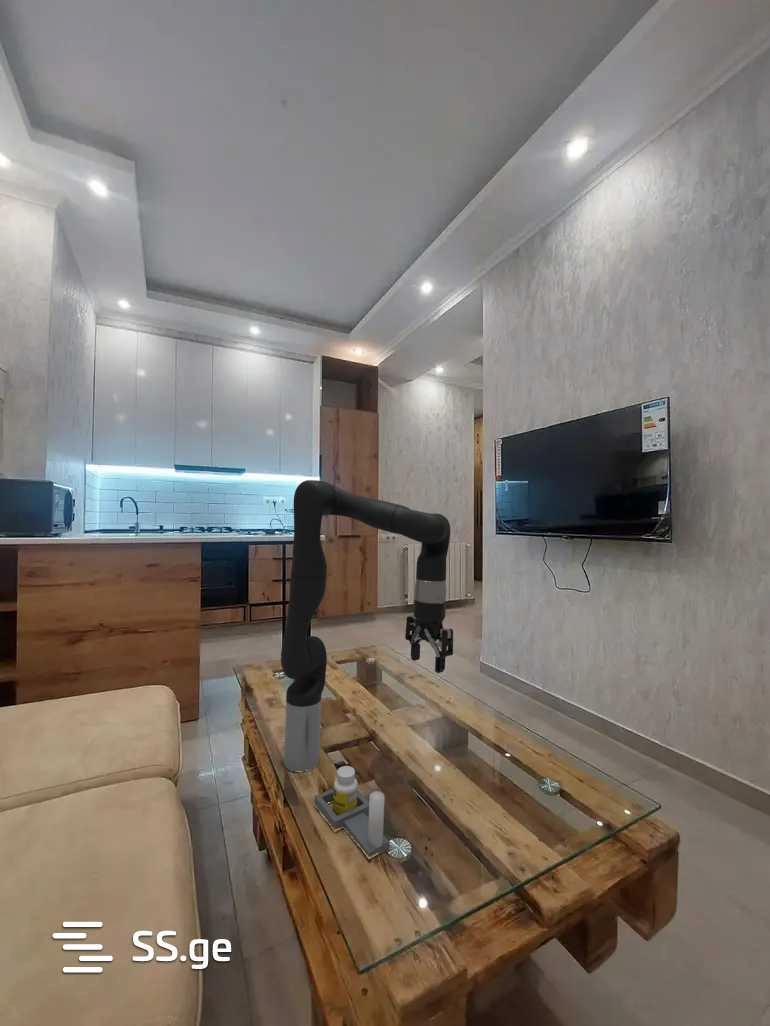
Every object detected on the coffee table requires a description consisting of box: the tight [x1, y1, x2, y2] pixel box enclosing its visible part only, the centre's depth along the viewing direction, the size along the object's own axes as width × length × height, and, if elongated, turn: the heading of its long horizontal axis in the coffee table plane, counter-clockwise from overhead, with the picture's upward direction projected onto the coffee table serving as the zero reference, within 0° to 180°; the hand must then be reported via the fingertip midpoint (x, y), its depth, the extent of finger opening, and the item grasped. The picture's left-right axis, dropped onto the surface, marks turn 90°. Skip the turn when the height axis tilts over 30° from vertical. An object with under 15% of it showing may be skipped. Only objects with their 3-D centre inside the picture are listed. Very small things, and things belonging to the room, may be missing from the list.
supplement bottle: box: [332, 765, 359, 816], centre depth 97 cm, size 5×5×10 cm
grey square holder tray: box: [313, 787, 391, 857], centre depth 93 cm, size 19×9×11 cm, turn 36°
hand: (427, 665), depth 102 cm, fingers open, 8 cm apart
